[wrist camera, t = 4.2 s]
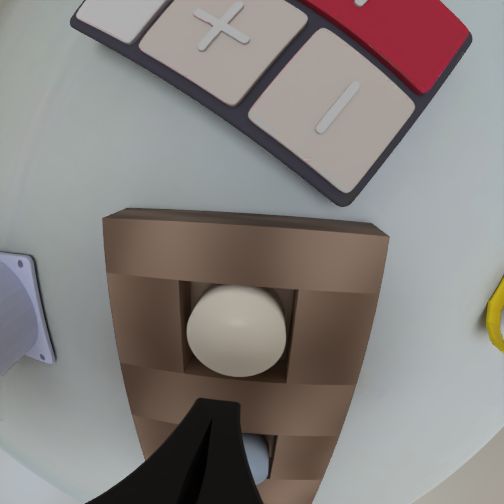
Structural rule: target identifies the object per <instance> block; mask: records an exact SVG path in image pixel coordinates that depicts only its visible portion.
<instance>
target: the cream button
mask: <svg viewBox="0 0 504 504" xmlns="http://www.w3.org/2000/svg"><path fill="white" fill-rule="evenodd" d="M187 339H188V343H189V346H190V348H191V350H192V352H193V353H194V355H195V356H196V357H197V359H198V360H199V361H200V362H201V363H203V364H204V365H205V366H207V367H208V368H210V369H211V370H213V371H215V372H218V373H220V374H223V375H227V376H233V377H247V376H252V375H256V374H259V373H261V372H264V371H265V370H267V369H269V368H270V367H272V366H273V365H274V364H275V363H276V362H277V361H278V359H279V358H280V357H281V355H282V353H283V351H284V348H285V343H286V326H285V311H284V307H283V304H282V301H281V299H280V298H279V296H278V295H277V293H276V292H275V291H274V290H273V289H272V288H269V287H255V286H242V285H229V284H217V283H212V284H211V285H209V286H208V287H207V288H206V289H205V290H204V292H203V293H202V294H201V296H200V298H199V300H198V302H197V304H196V306H195V308H194V310H193V312H192V314H191V316H190V318H189V320H188V324H187Z"/></svg>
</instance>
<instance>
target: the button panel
mask: <svg viewBox="0 0 504 504" xmlns="http://www.w3.org/2000/svg"><path fill="white" fill-rule="evenodd" d="M102 220H103V237H104V251H105V262H106V272H107V282H108V290H109V298H110V306H111V313H112V319H113V326H114V332H115V338H116V344H117V349H118V354H119V360H120V365H121V370H122V374H123V379H124V383H125V388H126V392H127V396H128V401H129V405H130V409H131V413H132V416H133V420H134V424H135V428H136V431H137V435H138V438H139V442H140V445H141V448H142V452H143V455H144V458H145V461H146V460H147V459H148V458H149V457H150V456H151V455H152V454H153V453H154V452H155V451H156V450H157V449H158V448H159V447H160V446H161V445H162V444H163V442H164V441H165V440H166V439H167V438H168V437H169V436H170V434H171V433H172V432H173V431H174V430H175V429H176V427H177V426H178V425H179V424H180V422H181V421H182V420H183V418H184V417H185V416H186V414H187V413H188V411H189V410H190V409H191V407H192V406H193V404H194V402H195V401H196V399H198V398H207V399H216V400H224V401H234V402H238V403H239V404H241V415H240V423H241V431H242V433H253V434H261V435H262V436H263V437H264V438H265V439H266V440H267V441H268V444H269V465H268V476H267V478H266V479H265V480H264V481H263V482H261V483H260V484H258V485H256V487H257V489H258V492H259V494H260V496H261V499H262V501H263V503H264V504H312V502H313V500H314V497H315V495H316V493H317V491H318V488H319V486H320V484H321V481H322V479H323V476H324V474H325V472H326V469H327V467H328V464H329V462H330V459H331V457H332V454H333V451H334V449H335V446H336V444H337V441H338V438H339V435H340V433H341V430H342V427H343V424H344V421H345V418H346V415H347V412H348V409H349V406H350V403H351V400H352V397H353V394H354V390H355V387H356V384H357V381H358V377H359V374H360V370H361V367H362V363H363V360H364V356H365V352H366V348H367V345H368V341H369V337H370V333H371V329H372V324H373V320H374V316H375V311H376V307H377V302H378V298H379V293H380V288H381V283H382V278H383V272H384V267H385V261H386V256H387V250H388V243H389V236H388V235H387V234H385V233H384V232H383V231H381V230H380V229H379V228H377V227H376V226H375V225H373V224H372V223H363V222H352V221H341V220H329V219H317V218H305V217H292V216H278V215H263V214H248V213H231V212H213V211H193V210H170V209H143V208H126V209H124V210H121V211H119V212H116V213H114V214H111V215H109V216H106V217H104V218H102ZM212 283H217V284H229V285H242V286H255V287H269V288H272V289H273V290H274V291H275V292H276V293H277V295H278V296H279V298H280V299H281V301H282V304H283V307H284V311H285V326H286V343H285V348H284V351H283V353H282V355H281V357H280V358H279V359H278V361H277V362H276V363H275V364H274V365H273V366H272V367H270V368H269V369H267V370H265V371H264V372H261V373H259V374H256V375H252V376H247V377H233V376H227V375H223V374H220V373H218V372H215V371H213V370H211V369H210V368H208V367H207V366H205V365H204V364H203V363H201V362H200V361H199V360H198V359H197V357H196V356H195V355H194V353H193V352H192V350H191V348H190V346H189V343H188V339H187V324H188V320H189V318H190V316H191V314H192V312H193V310H194V308H195V306H196V304H197V302H198V300H199V298H200V296H201V294H202V293H203V292H204V290H205V289H206V288H207V287H208V286H209V285H211V284H212Z"/></svg>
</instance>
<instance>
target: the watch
mask: <svg viewBox="0 0 504 504" xmlns="http://www.w3.org/2000/svg"><path fill="white" fill-rule="evenodd" d="M488 302H489V303H488V304H487V315H486V328H487V331H488V334H489V337H490V341H491V342H492V344H493V345H494V346H496V347H497V348H498V349H499V350H500V351H502V352H503V353H504V340H503V337H502V334H501V331H500V318H501V310H502V308H503V307H504V277H503V279H502V281H501V283H500V284H499V286H498V288H497V289H496V291H495V293H494V294H493V296H492V298H491V299H490V300H489V301H488Z"/></svg>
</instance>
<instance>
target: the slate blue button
mask: <svg viewBox="0 0 504 504" xmlns="http://www.w3.org/2000/svg"><path fill="white" fill-rule="evenodd" d="M242 438H243V443H244V447H245V451H246V455H247V459H248V463H249V466H250V469H251V472H252V475H253V478H254V481H255V484H256V485H258V484H260V483H261V482H263V481H264V480H265V479H266V478H267V476H268V465H269V444H268V441H267V440H266V439H265V438H264V437H263V436H262V435H261V434H253V433H242Z"/></svg>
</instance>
